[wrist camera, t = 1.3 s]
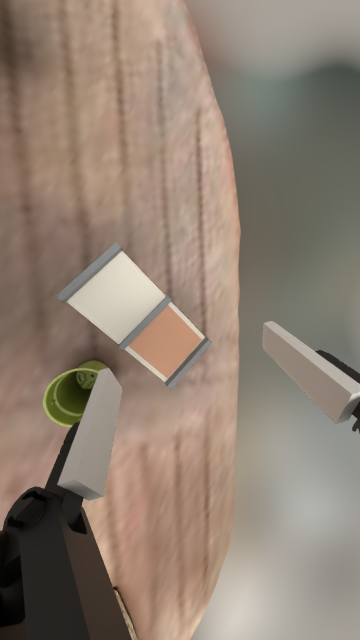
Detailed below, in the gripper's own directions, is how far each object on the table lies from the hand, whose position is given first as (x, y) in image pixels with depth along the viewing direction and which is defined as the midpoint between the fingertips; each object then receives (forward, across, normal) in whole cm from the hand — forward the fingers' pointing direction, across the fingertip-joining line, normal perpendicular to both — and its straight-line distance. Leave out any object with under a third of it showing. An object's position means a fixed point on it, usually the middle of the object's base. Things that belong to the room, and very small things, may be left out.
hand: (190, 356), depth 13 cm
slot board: (+21, -7, -6) cm, 23 cm away
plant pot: (+16, -20, -12) cm, 28 cm away
